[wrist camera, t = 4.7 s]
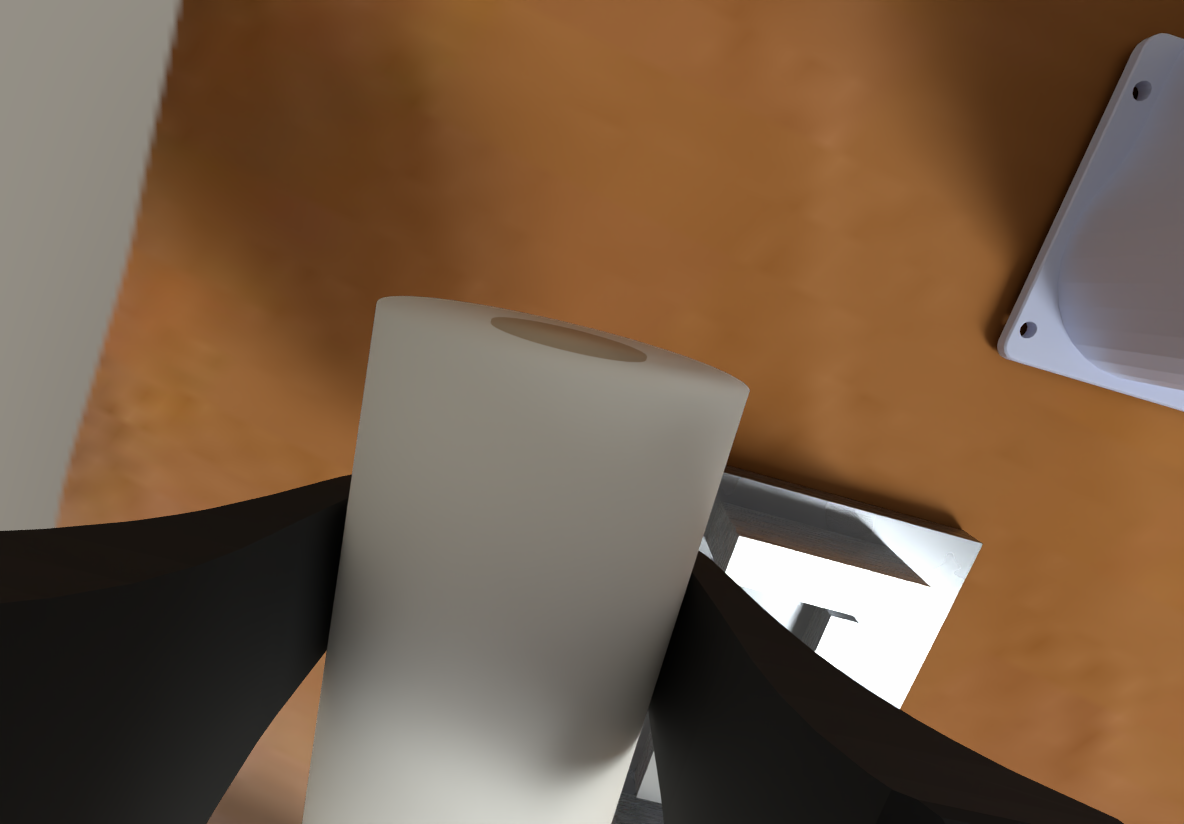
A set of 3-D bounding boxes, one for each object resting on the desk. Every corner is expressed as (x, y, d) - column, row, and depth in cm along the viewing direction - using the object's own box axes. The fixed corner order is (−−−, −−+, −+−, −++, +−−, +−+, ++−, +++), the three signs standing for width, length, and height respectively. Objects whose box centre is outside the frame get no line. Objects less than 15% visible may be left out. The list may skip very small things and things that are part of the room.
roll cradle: (640, 441, 19) (650, 477, 15) (963, 530, 19) (1040, 584, 16) (526, 798, 22) (514, 890, 19) (800, 862, 23) (835, 963, 20)
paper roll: (441, 289, 11) (289, 301, 5) (709, 354, 11) (812, 427, 6) (377, 669, 13) (222, 945, 8) (601, 717, 13) (603, 1016, 8)
